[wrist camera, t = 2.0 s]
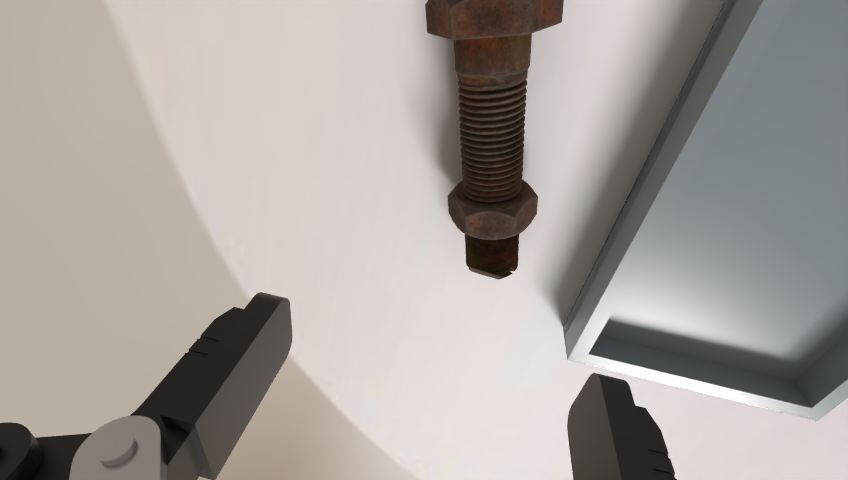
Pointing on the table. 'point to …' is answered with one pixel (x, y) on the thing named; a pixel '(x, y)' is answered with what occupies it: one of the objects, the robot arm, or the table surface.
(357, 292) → the table surface
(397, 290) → the table surface
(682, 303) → the tray
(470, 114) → the bolt
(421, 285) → the table surface
